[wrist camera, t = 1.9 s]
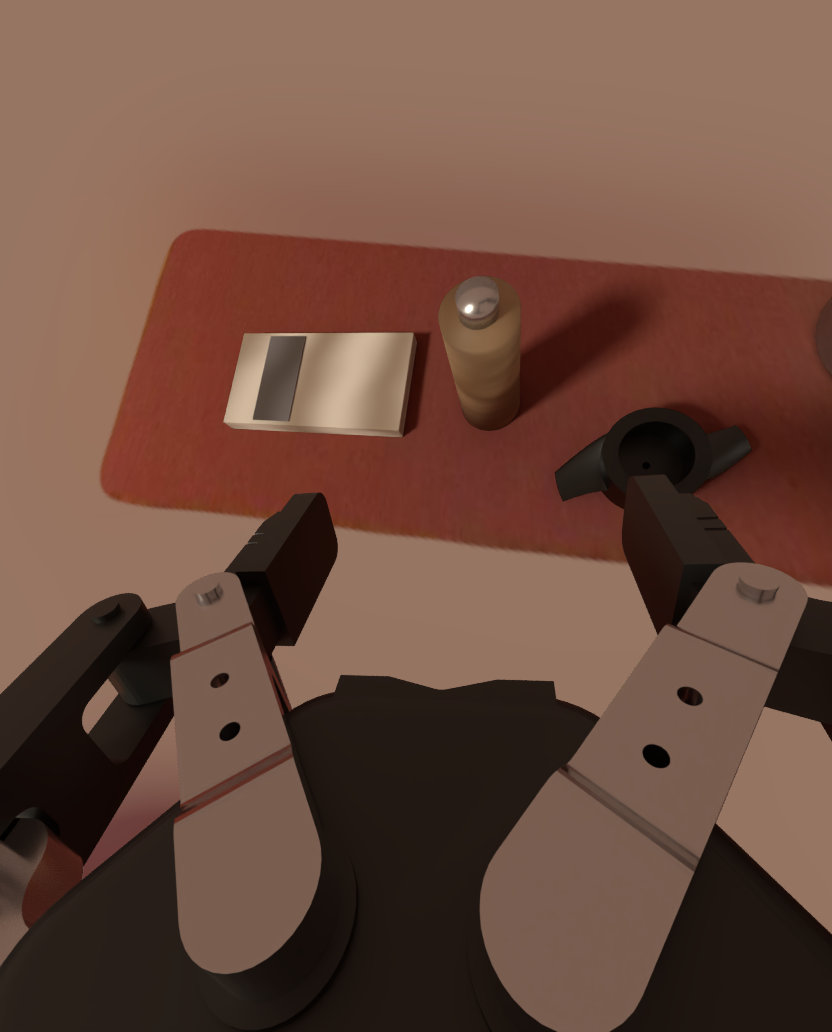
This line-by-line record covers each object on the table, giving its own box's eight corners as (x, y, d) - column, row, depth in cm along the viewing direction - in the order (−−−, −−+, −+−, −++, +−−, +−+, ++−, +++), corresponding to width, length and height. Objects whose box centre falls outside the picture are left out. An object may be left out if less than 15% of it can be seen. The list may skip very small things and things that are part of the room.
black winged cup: (582, 396, 30) (589, 374, 28) (745, 437, 28) (771, 417, 25) (545, 500, 29) (548, 488, 27) (710, 553, 27) (732, 546, 24)
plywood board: (416, 342, 34) (413, 331, 33) (402, 437, 32) (398, 429, 31) (252, 342, 37) (243, 332, 36) (232, 428, 36) (222, 421, 34)
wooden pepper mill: (522, 378, 31) (524, 255, 21) (517, 431, 31) (516, 333, 20) (465, 377, 32) (439, 259, 22) (459, 429, 32) (429, 334, 21)
